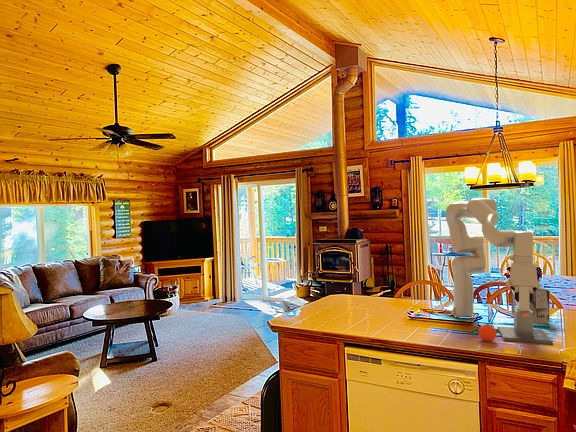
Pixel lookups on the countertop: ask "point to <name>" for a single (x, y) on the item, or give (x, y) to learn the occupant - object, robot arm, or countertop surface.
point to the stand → (524, 330)
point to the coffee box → (540, 305)
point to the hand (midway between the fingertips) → (523, 301)
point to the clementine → (487, 332)
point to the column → (523, 299)
